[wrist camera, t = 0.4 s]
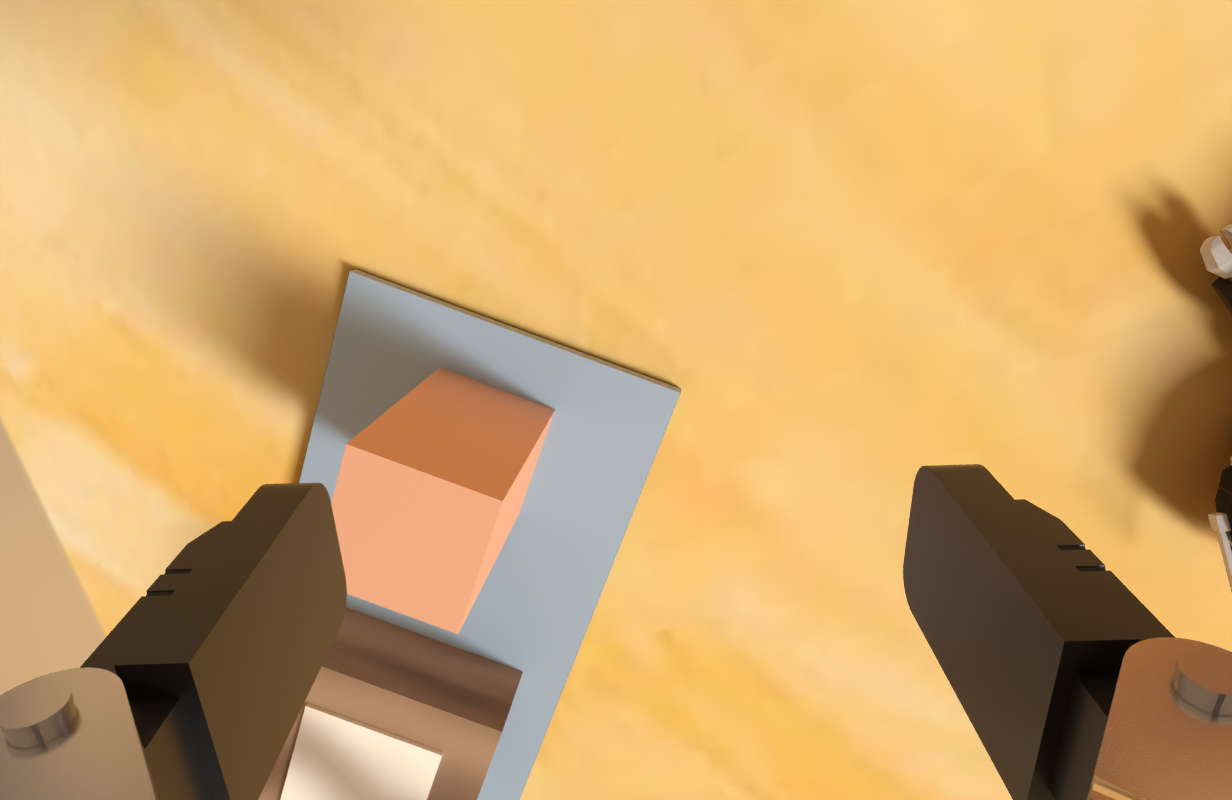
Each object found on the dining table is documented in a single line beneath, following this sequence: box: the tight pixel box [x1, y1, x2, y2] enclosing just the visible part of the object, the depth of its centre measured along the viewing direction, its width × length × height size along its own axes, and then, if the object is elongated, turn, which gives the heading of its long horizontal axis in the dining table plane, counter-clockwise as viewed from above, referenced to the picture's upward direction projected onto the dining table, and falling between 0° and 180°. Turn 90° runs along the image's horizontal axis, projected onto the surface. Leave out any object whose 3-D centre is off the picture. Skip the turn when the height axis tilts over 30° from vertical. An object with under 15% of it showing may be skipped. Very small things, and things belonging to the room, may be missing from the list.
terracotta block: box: [331, 368, 555, 634], centre depth 29 cm, size 5×5×9 cm
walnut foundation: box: [258, 607, 523, 800], centre depth 36 cm, size 10×10×4 cm
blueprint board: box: [299, 269, 681, 800], centre depth 36 cm, size 26×14×1 cm, turn 161°
